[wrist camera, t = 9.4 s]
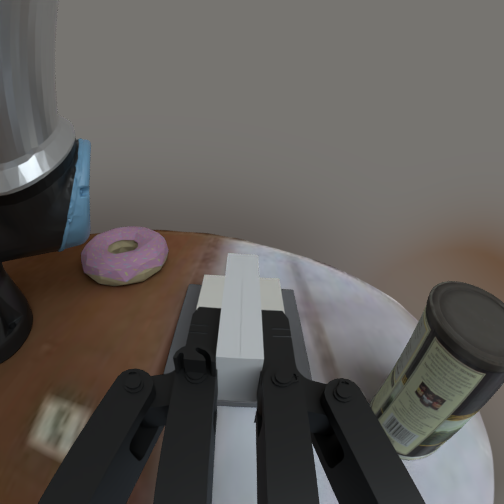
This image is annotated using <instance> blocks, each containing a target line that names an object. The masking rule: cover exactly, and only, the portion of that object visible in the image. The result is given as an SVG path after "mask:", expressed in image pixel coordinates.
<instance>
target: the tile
mask: <svg viewBox="0 0 504 504" xmlns="http://www.w3.org/2000/svg"><path fill="white" fill-rule="evenodd" d="M224 282H225V276H218V275H204V279H203V283H202V287H201V292H200V296H199V300H198V304H197V308H196V310H197V309H198V307H211V308H221V307H222V298H223V290H224ZM260 295H261V310H277V311H283V312H284V314H285V311H284V305H283V299H282V293H281V286H280V280H279V279H274V278H260Z"/></svg>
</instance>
